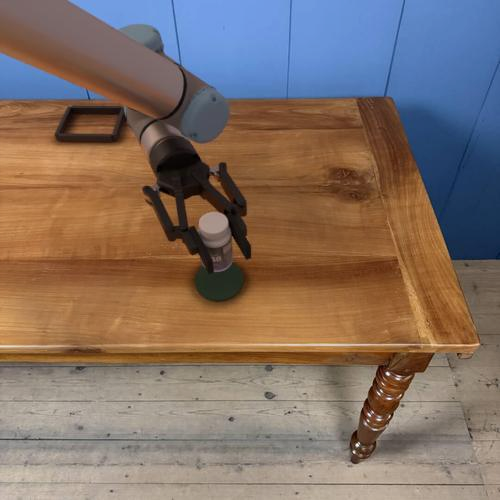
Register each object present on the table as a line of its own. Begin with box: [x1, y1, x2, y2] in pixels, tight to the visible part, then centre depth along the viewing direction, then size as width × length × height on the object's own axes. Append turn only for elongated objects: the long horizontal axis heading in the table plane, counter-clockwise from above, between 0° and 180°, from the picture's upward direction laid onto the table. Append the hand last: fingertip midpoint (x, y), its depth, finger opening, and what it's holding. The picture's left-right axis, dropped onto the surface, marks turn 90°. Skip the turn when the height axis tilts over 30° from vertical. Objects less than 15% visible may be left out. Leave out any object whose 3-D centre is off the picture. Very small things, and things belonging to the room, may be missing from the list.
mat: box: [194, 262, 244, 303], centre depth 72 cm, size 8×8×1 cm
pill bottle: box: [197, 211, 234, 272], centre depth 65 cm, size 5×5×8 cm
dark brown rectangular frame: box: [54, 104, 126, 143], centre depth 97 cm, size 13×11×2 cm
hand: (229, 259), depth 60 cm, fingers closed on pill bottle, 5 cm apart
